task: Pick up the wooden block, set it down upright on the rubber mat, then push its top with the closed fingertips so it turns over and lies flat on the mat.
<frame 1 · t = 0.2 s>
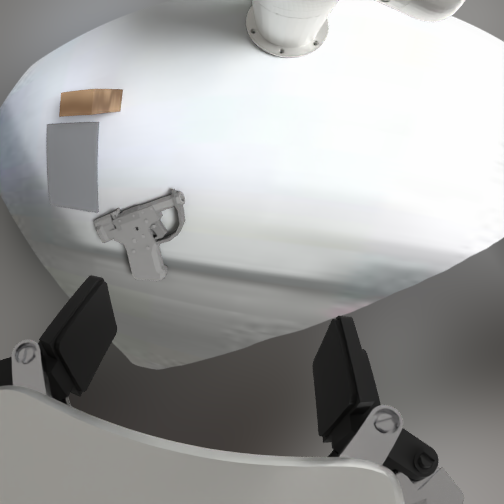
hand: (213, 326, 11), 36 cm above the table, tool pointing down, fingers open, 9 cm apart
wooden block: (105, 100, 38), on the table
pistol: (151, 237, 51), on the table
rubber mat: (71, 166, 44), on the table
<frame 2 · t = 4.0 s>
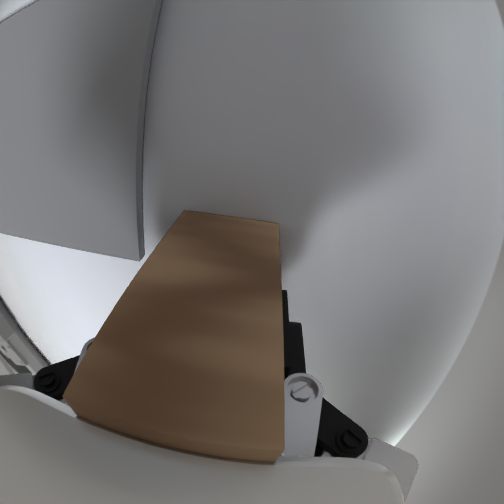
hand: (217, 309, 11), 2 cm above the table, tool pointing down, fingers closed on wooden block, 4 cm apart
wooden block: (223, 284, 13), on the table, touching gripper
rubber mat: (13, 120, 9), on the table
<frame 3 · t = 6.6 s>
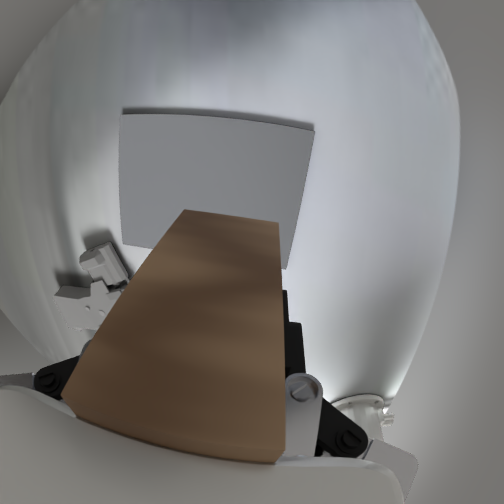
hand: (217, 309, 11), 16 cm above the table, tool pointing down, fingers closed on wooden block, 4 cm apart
wooden block: (223, 283, 13), point 14 cm above the table, touching gripper
pistol: (111, 311, 35), on the table
rubber mat: (205, 189, 25), on the table
when the fingers open (4 cm above the table, at t = 9.0 s): wooden block drops 1 cm, resting on rubber mat.
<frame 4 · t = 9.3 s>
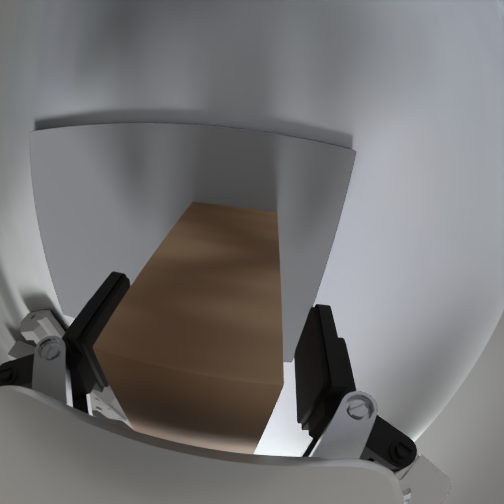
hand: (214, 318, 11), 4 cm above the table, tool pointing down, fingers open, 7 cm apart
wooden block: (228, 269, 14), point 1 cm above the table, touching rubber mat
pistol: (73, 374, 25), on the table
rubber mat: (159, 251, 15), on the table
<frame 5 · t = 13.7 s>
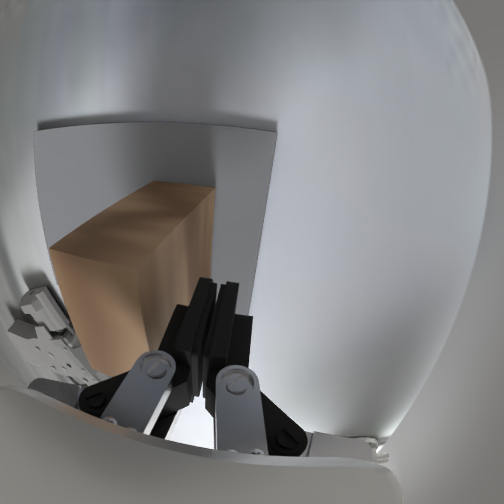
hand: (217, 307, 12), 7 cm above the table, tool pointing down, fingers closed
wooden block: (182, 236, 17), point 1 cm above the table, touching gripper, rubber mat
pistol: (65, 350, 28), on the table
rubber mat: (131, 223, 18), on the table
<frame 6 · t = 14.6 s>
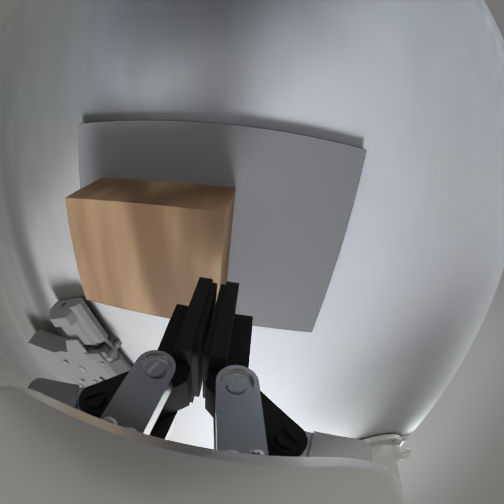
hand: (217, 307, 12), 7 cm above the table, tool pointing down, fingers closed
wooden block: (226, 257, 16), point 3 cm above the table, tilted 90°, touching rubber mat
pistol: (94, 361, 28), on the table
rubber mat: (201, 231, 18), on the table
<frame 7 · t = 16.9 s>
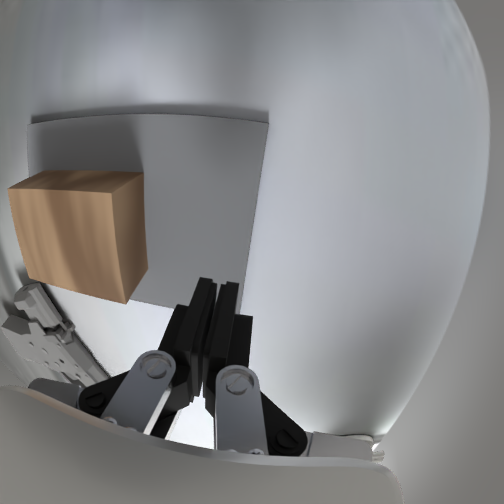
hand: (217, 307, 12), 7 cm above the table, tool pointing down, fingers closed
wooden block: (132, 238, 15), point 3 cm above the table, tilted 90°, touching rubber mat
pistol: (58, 345, 28), on the table
rubber mat: (122, 215, 17), on the table
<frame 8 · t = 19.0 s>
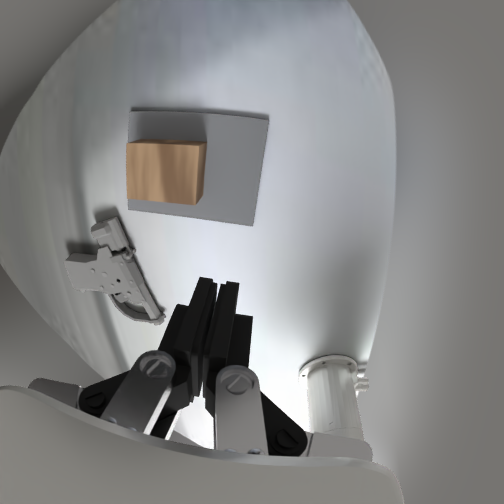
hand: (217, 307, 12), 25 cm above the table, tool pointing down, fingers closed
wooden block: (201, 172, 31), point 3 cm above the table, tilted 90°, touching rubber mat
pistol: (111, 275, 44), on the table
rubber mat: (190, 165, 33), on the table
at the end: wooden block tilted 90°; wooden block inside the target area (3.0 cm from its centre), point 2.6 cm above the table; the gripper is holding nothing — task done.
